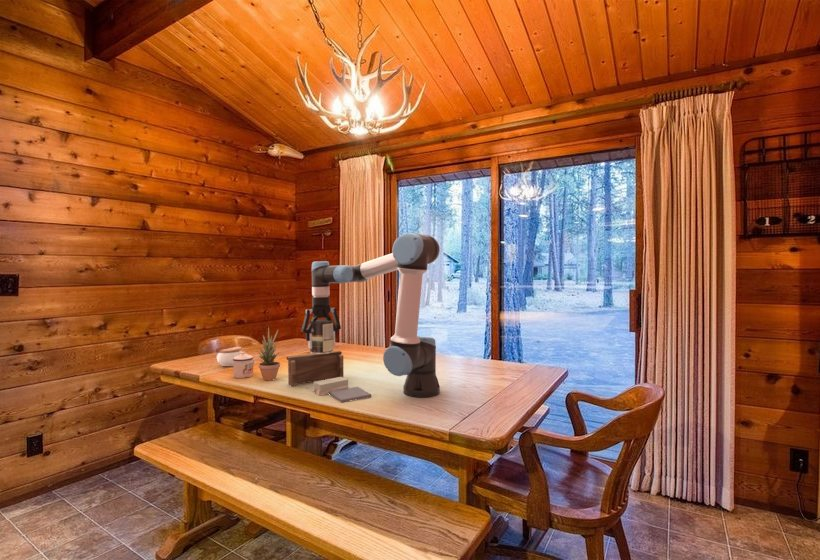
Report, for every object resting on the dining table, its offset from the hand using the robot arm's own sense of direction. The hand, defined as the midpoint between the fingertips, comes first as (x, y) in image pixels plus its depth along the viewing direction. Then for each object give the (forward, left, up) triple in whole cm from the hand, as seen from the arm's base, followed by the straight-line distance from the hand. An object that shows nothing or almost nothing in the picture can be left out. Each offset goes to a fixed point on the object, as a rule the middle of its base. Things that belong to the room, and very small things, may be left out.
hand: (321, 346), depth 185 cm
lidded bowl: (+63, +28, -17) cm, 71 cm away
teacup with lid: (+36, +25, -17) cm, 47 cm away
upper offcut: (-11, 0, -15) cm, 18 cm away
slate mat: (-21, -4, -17) cm, 27 cm away
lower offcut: (-11, 0, -18) cm, 21 cm away
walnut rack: (+7, 0, -17) cm, 18 cm away
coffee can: (0, 0, -3) cm, 3 cm away
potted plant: (+23, +17, -17) cm, 34 cm away
